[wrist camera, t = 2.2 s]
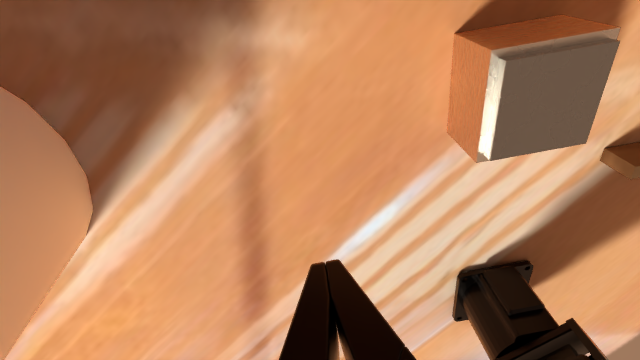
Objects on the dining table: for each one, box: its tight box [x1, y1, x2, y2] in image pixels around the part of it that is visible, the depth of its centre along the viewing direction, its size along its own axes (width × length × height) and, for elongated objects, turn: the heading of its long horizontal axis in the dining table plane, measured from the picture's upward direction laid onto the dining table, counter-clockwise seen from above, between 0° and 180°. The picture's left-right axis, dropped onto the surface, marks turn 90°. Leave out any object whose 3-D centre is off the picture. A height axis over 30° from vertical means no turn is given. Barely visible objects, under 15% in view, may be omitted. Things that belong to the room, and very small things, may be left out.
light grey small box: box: [447, 15, 621, 163], centre depth 19 cm, size 6×6×5 cm
